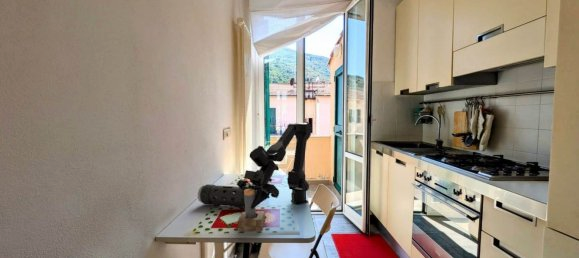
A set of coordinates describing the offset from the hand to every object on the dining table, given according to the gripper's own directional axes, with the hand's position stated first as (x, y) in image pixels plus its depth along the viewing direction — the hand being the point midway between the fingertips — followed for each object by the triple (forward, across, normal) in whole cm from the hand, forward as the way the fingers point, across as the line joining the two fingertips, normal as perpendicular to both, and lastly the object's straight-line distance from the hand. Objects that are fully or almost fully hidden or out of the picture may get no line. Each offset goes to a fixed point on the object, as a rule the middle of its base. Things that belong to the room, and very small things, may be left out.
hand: (247, 207), depth 100 cm
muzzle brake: (-3, -26, +14) cm, 30 cm away
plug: (+4, 0, +7) cm, 8 cm away
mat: (+3, -12, +8) cm, 14 cm away
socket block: (+4, 0, +7) cm, 8 cm away
